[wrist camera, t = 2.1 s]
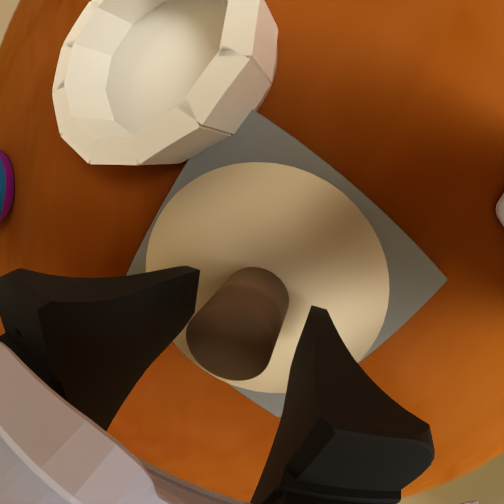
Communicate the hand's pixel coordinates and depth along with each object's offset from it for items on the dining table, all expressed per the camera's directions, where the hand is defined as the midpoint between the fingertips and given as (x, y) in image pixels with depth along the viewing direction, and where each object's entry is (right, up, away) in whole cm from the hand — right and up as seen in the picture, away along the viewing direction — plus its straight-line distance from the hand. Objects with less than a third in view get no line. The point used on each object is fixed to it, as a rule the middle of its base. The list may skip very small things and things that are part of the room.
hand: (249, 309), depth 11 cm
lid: (0, +1, +2) cm, 2 cm away
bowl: (-4, +11, +1) cm, 12 cm away
